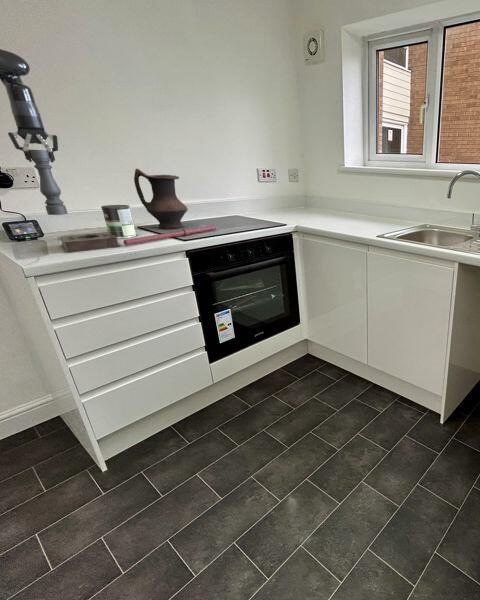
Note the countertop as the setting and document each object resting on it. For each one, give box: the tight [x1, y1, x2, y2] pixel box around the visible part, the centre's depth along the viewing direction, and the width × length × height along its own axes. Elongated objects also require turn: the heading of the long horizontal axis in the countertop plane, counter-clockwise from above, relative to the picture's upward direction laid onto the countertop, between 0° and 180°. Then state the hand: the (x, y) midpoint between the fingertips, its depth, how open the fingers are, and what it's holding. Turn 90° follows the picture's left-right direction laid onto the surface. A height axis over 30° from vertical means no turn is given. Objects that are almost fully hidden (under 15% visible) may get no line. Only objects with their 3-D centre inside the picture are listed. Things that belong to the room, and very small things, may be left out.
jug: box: [133, 168, 188, 230], centre depth 185 cm, size 21×18×30 cm
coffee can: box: [100, 204, 137, 240], centre depth 163 cm, size 10×10×14 cm
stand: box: [59, 231, 120, 253], centre depth 146 cm, size 16×16×4 cm
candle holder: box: [28, 149, 68, 216], centre depth 143 cm, size 6×6×25 cm
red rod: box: [122, 225, 217, 246], centre depth 167 cm, size 45×3×3 cm, turn 157°
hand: (41, 161), depth 140 cm, fingers closed on candle holder, 5 cm apart
